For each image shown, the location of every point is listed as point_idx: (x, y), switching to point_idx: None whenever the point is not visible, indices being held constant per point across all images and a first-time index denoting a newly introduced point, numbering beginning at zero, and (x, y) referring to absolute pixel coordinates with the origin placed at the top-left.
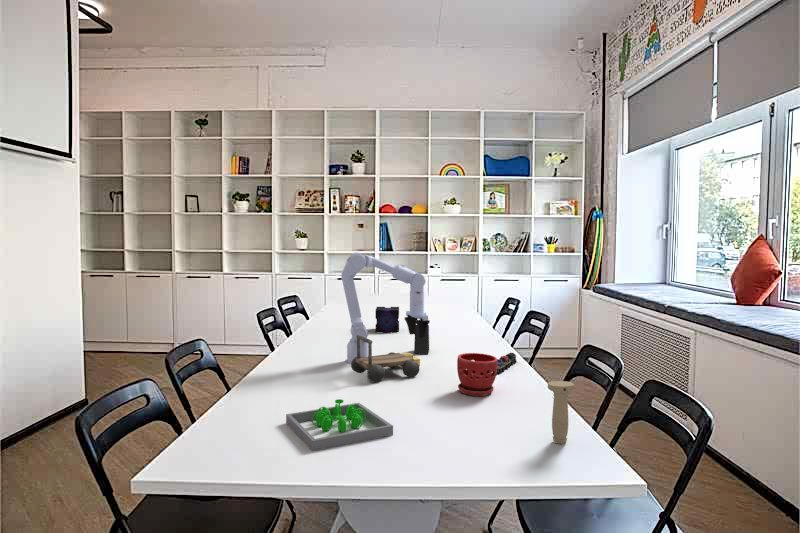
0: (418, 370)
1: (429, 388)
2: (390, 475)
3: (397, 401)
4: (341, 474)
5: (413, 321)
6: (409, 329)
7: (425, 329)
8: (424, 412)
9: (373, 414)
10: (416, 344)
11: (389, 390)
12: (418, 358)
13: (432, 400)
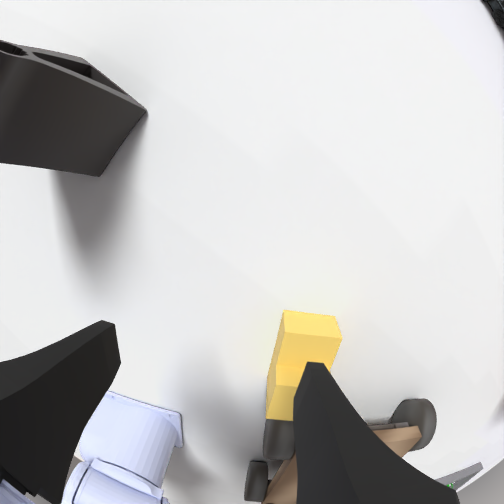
0: (429, 404)
1: (479, 400)
2: (494, 464)
3: (452, 453)
4: (468, 482)
5: (36, 430)
6: (98, 402)
7: (363, 430)
8: (495, 432)
9: (457, 480)
10: (63, 158)
11: (415, 456)
12: (328, 337)
13: (496, 414)
